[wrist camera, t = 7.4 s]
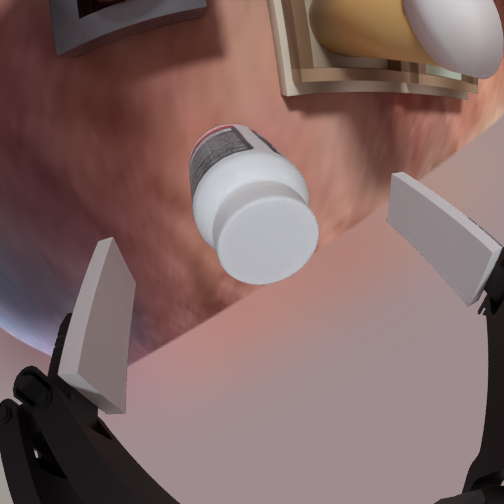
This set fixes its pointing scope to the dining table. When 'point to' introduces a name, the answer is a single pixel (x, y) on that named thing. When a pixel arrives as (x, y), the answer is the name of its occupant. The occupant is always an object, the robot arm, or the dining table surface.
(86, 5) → the grey square frame
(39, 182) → the dining table surface
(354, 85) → the wooden divided tray
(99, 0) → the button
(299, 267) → the pill bottle
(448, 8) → the amber capped bottle
